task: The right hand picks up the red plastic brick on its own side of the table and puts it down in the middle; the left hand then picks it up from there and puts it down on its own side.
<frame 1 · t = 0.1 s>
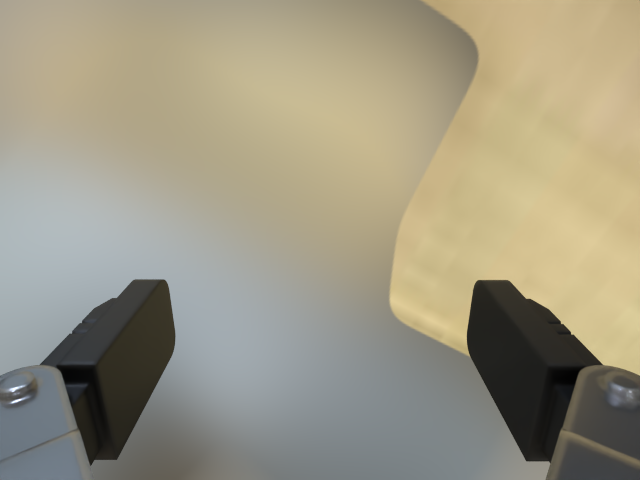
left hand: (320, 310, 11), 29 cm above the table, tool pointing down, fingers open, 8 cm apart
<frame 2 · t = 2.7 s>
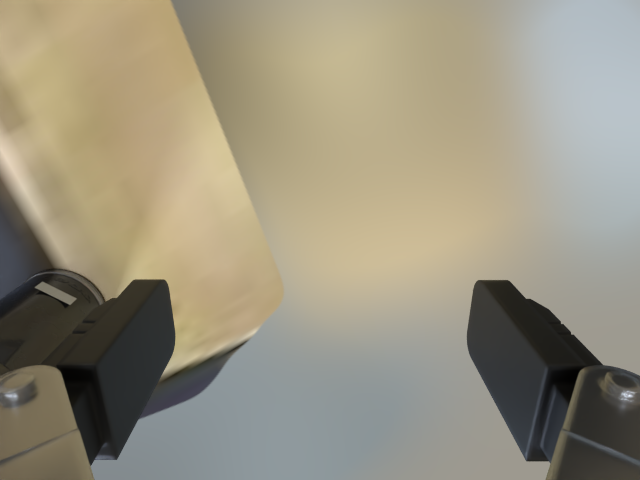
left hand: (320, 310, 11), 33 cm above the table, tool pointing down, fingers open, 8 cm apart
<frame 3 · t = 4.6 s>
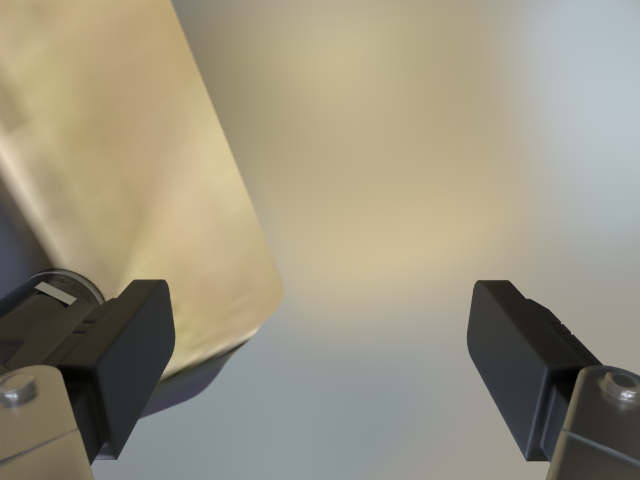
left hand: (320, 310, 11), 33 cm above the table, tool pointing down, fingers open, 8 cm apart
when the right hand's fingers open (1 cm above the table, at t = 6.4 s): brick stays where it is, on the table.
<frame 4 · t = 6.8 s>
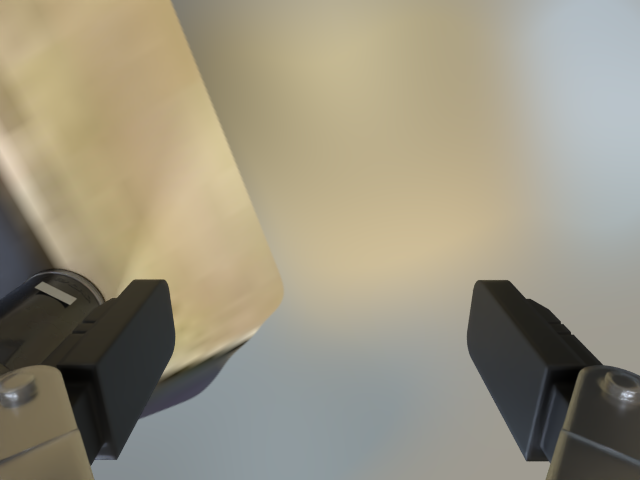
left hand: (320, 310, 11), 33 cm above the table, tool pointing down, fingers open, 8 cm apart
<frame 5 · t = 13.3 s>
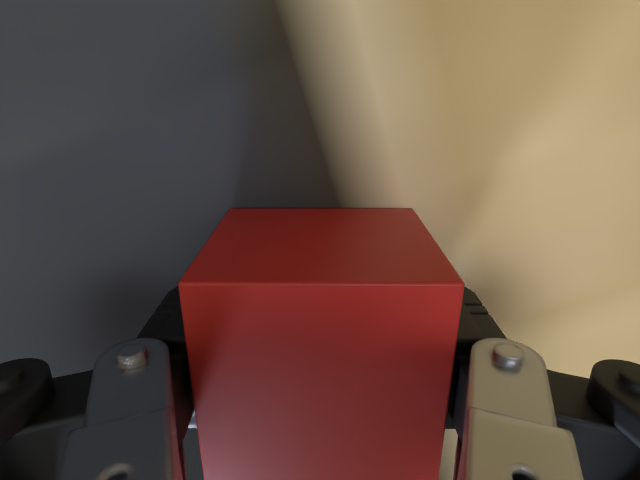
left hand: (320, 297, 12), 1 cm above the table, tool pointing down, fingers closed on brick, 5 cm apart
brick: (320, 291, 12), on the table, touching left hand
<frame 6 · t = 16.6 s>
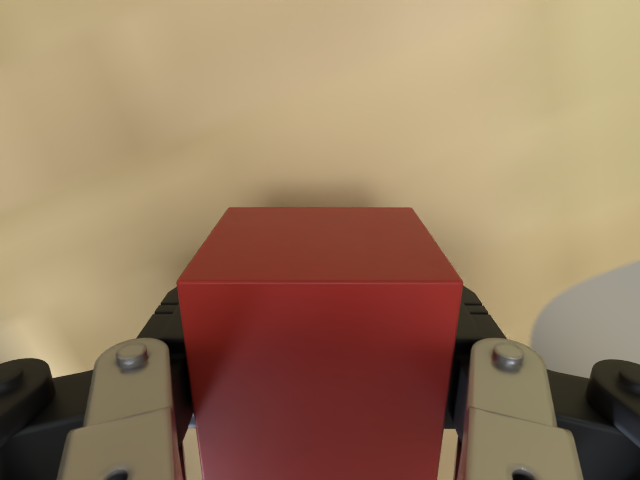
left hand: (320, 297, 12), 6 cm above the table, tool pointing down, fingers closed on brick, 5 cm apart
brick: (320, 290, 12), point 5 cm above the table, touching left hand
when the left hand's fingers open (1 cm above the table, at t = 19.7 s): brick stays where it is, on the table.
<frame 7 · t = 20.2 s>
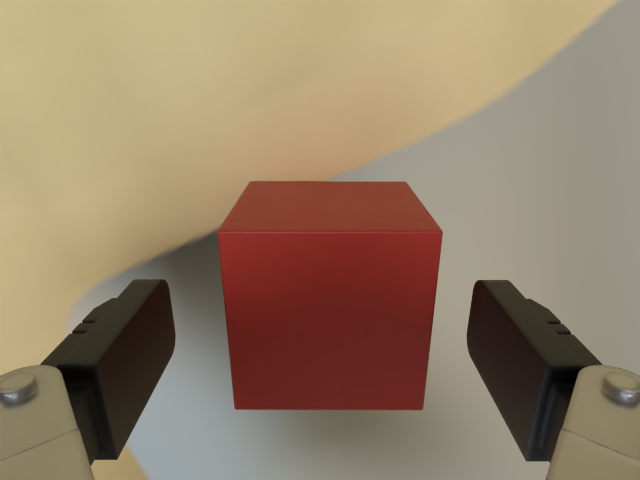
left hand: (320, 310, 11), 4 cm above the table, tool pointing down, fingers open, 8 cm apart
brick: (327, 254, 15), on the table
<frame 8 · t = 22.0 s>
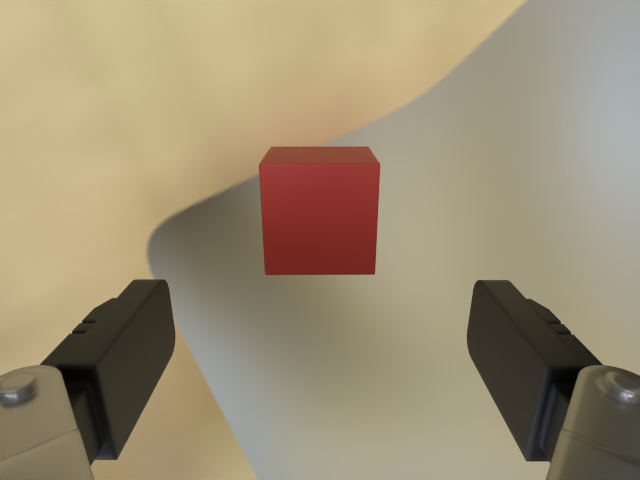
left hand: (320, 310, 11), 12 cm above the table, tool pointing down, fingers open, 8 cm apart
brick: (319, 195, 23), on the table
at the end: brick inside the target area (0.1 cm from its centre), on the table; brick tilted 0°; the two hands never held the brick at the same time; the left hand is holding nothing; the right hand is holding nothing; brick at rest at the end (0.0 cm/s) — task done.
